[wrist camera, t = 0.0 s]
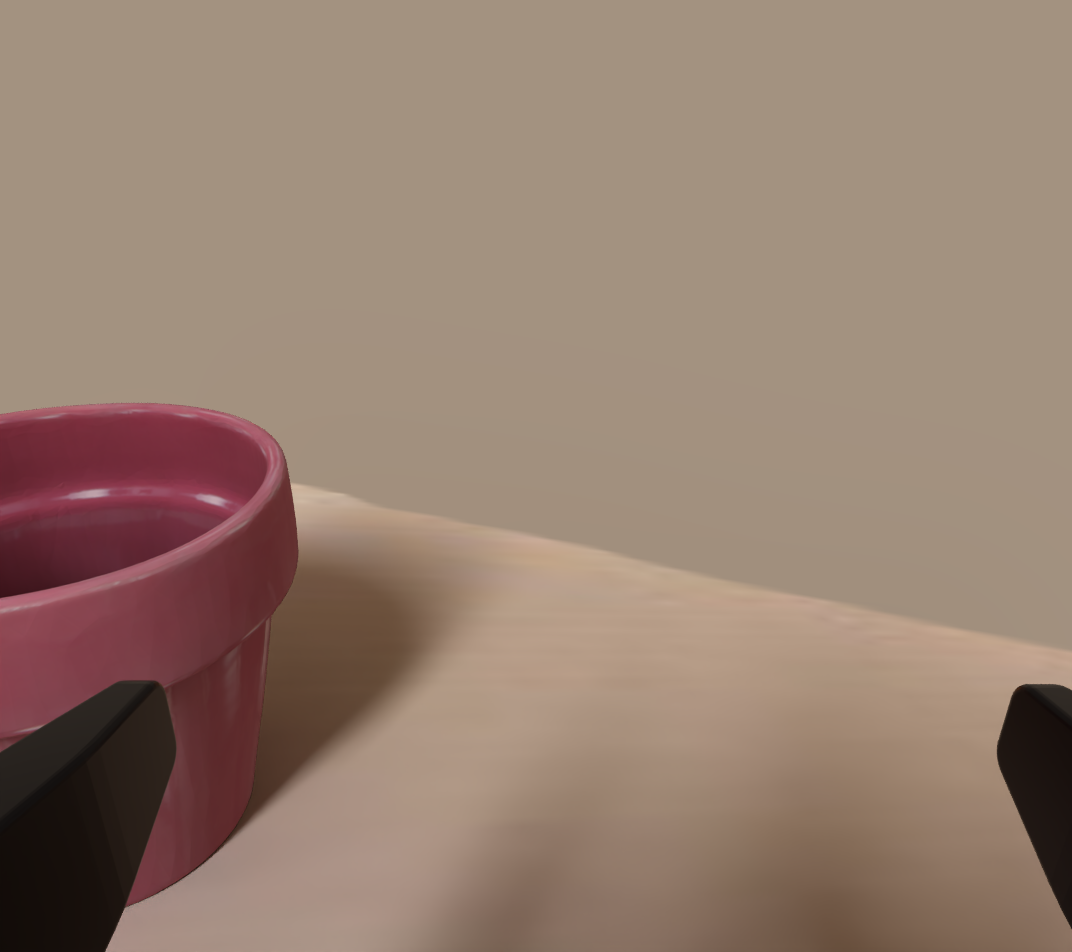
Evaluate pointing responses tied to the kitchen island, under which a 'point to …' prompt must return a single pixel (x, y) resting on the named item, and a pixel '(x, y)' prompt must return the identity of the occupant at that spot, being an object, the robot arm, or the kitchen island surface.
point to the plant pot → (147, 591)
